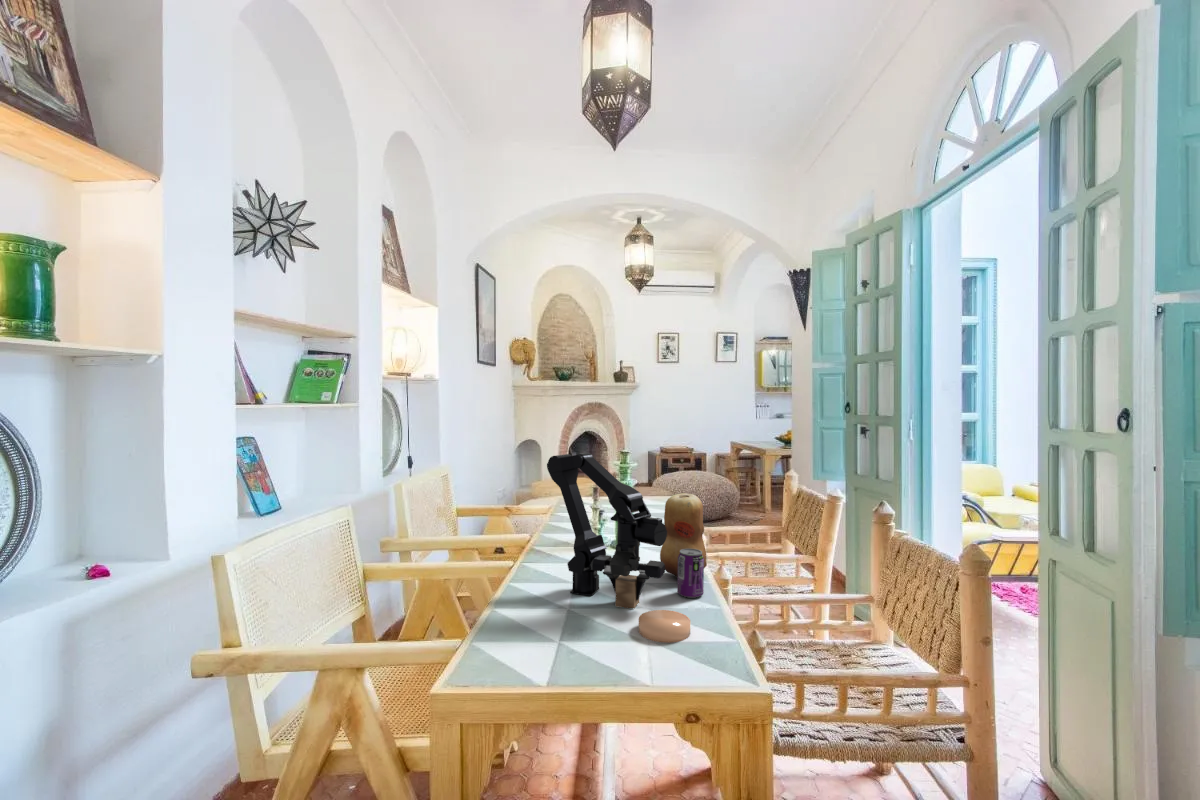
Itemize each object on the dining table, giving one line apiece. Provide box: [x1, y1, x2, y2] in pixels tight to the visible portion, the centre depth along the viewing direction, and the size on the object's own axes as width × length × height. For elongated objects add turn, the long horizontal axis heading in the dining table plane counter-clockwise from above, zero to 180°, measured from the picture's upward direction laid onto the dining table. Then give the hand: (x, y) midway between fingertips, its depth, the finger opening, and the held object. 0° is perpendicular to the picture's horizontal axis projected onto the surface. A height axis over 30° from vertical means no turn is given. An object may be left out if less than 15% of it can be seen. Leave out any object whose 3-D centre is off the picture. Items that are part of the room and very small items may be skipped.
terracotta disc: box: [638, 609, 691, 644], centre depth 134 cm, size 12×12×3 cm
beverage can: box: [676, 549, 705, 599], centre depth 158 cm, size 7×7×12 cm
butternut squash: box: [659, 492, 708, 579], centre depth 173 cm, size 14×13×25 cm
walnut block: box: [614, 574, 640, 609], centre depth 151 cm, size 5×5×7 cm
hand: (627, 598), depth 151 cm, fingers closed on walnut block, 5 cm apart
